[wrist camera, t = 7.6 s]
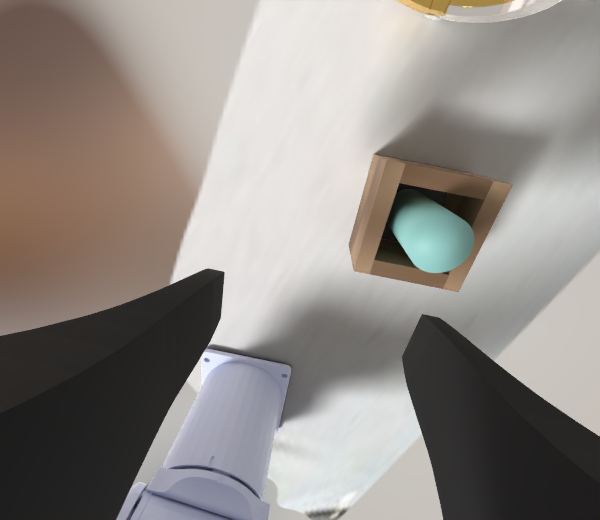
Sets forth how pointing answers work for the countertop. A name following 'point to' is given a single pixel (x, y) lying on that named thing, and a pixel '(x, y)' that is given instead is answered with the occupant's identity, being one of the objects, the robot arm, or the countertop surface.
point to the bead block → (460, 200)
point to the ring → (478, 9)
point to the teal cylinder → (429, 232)
